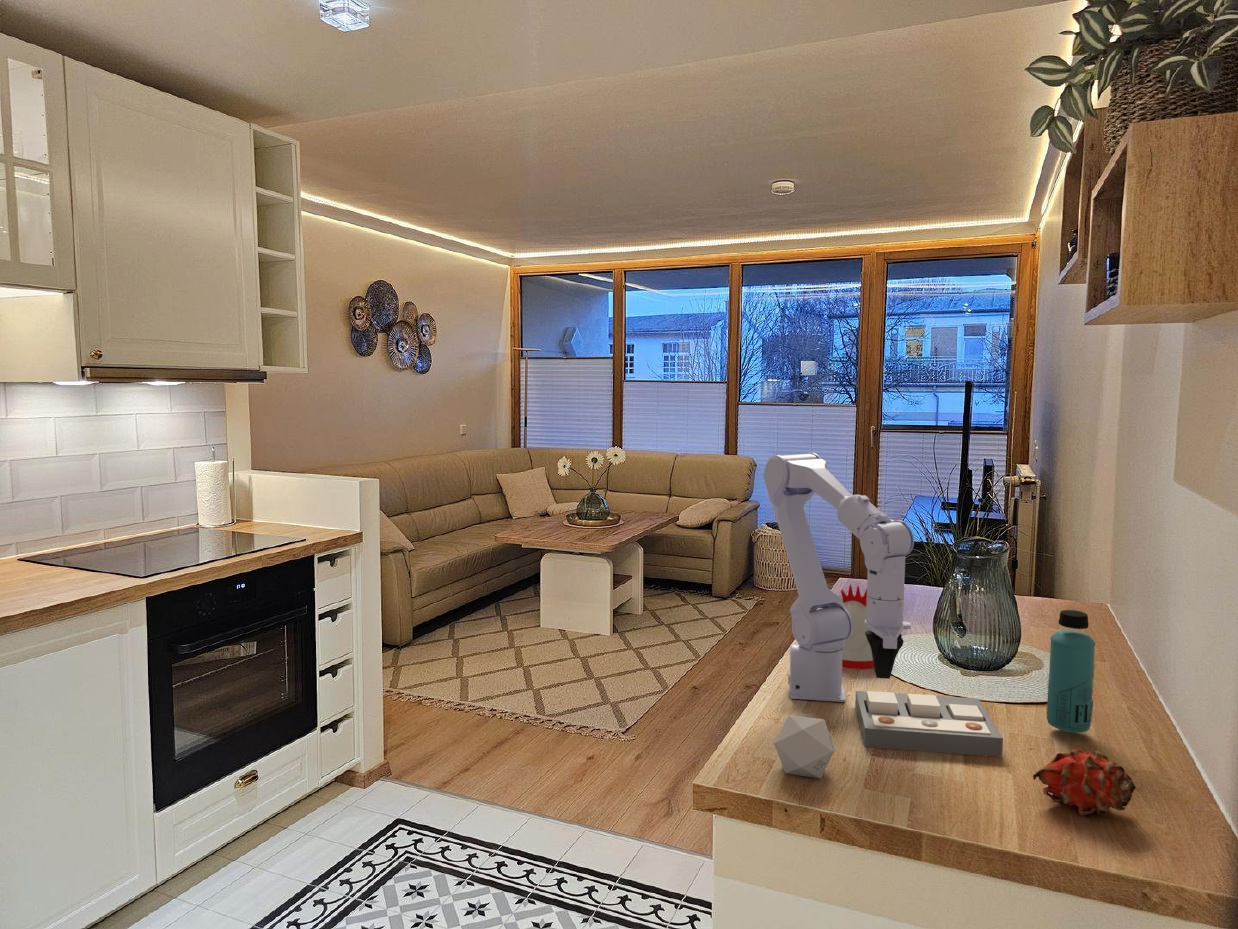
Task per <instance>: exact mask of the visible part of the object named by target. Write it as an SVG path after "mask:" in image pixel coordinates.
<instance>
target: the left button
mask: <svg viewBox="0 0 1238 929" xmlns="http://www.w3.org/2000/svg"><path fill="white" fill-rule="evenodd" d="M866 692H867V694H866V703H867V707H868V711H869V713H875V714H890V715H898V702H897V699H896V697H895V694H894V693H895V692H889V691H875V690H874V691H872V690H871V691H870V690H866Z"/></svg>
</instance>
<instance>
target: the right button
mask: <svg viewBox="0 0 1238 929" xmlns="http://www.w3.org/2000/svg"><path fill="white" fill-rule="evenodd" d="M948 712H949V714H950V716H951V718H952V719H963V720H977V721H983V715H982V714H981V712H980V710H979V709H978V707H977V706H974V705H958V704H948Z"/></svg>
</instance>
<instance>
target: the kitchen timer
mask: <svg viewBox="0 0 1238 929" xmlns="http://www.w3.org/2000/svg"><path fill="white" fill-rule="evenodd" d="M848 587H849V588H848V593H847V594H846V592H845V591H844V589H841V590H840V594H841V598H842V600H843V603H844V606H845V607H846V609H847V610H848V612H849V613H850V615H851V617H852V620H853V633H852V635H851V637H850V638H849V639H847V640H846V646H843V654H842V668H845V669H853V670H855V669H856V670H871V669H874V664H873V657H872V651H871V647H870V644H869V642H868V640H867V638H866V635H865V632H866V631H871V630H869V629H868V628H866V627H865V620H866V605H867V588H866V589H865V592H864V595H861V590H860V585H857V587H856V591H855V594H854V593H853V586H852V584H849V586H848Z"/></svg>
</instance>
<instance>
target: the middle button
mask: <svg viewBox="0 0 1238 929" xmlns="http://www.w3.org/2000/svg"><path fill="white" fill-rule="evenodd" d="M906 694H907V707H908V709H909V712H910V714H911V716H919V717H934V718H940V707H941V706H940V704H939V702H938V700H937V698H936V696H937V695H936V694H935V695H934V694H923V693H921V694H920V693H919V694H918V693H906Z"/></svg>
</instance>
